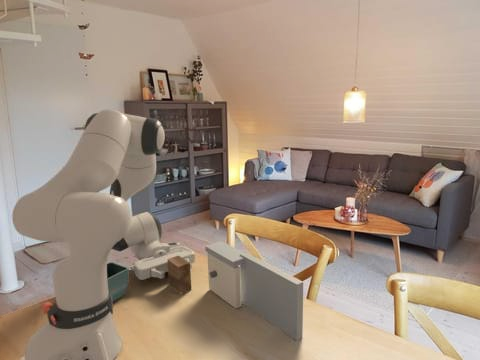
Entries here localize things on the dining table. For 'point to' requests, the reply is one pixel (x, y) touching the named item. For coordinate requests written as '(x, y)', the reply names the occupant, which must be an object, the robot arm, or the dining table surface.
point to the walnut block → (179, 274)
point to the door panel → (224, 280)
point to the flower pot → (117, 279)
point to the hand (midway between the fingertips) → (176, 271)
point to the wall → (266, 289)
